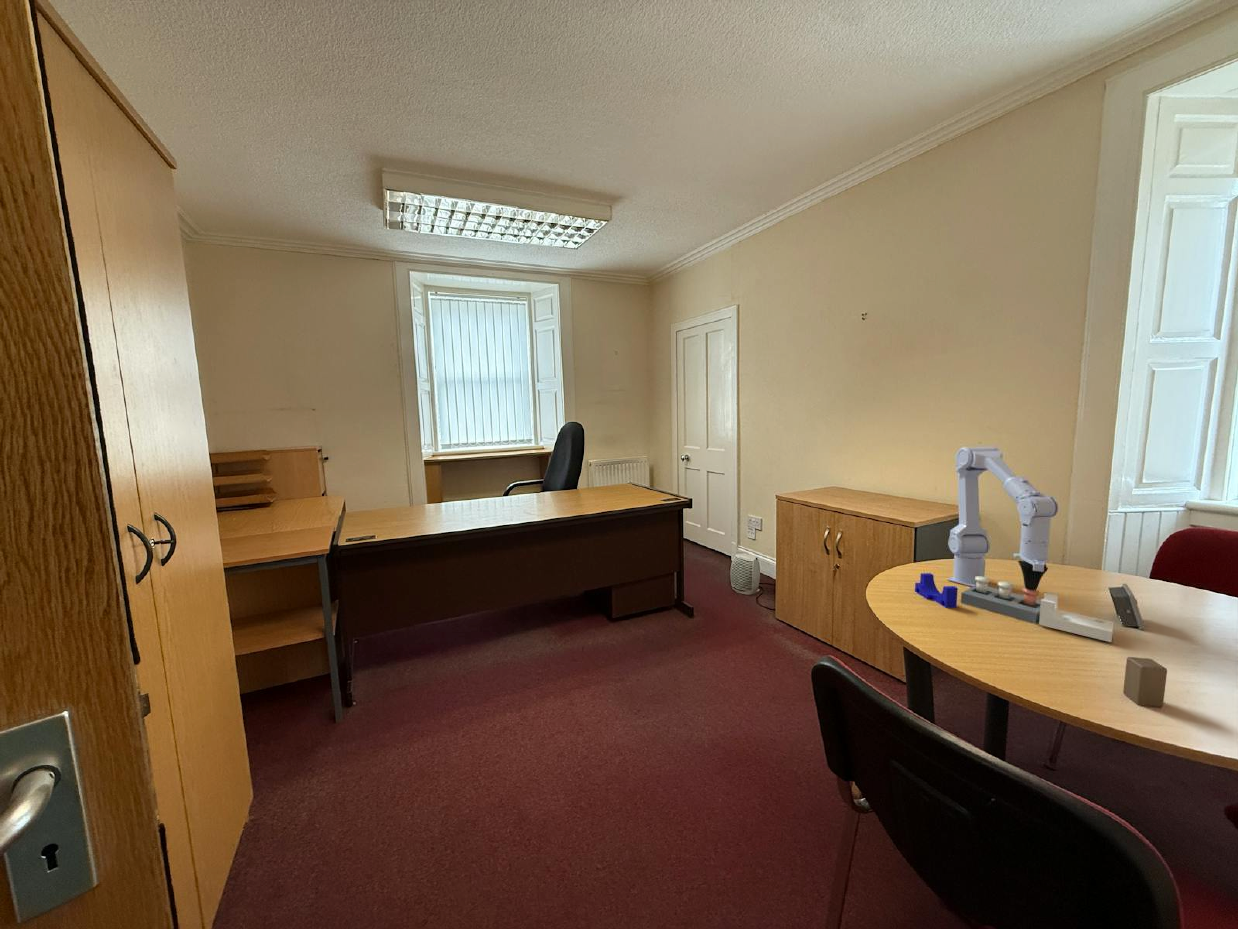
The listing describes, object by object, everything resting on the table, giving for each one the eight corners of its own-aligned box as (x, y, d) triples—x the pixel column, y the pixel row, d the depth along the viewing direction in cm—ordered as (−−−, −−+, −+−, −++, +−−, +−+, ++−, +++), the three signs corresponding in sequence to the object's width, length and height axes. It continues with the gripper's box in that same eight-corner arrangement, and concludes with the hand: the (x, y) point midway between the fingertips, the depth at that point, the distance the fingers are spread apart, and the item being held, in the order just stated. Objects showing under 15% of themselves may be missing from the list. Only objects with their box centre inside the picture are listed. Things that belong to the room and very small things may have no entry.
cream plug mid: (999, 593, 136) (1000, 580, 136) (1014, 597, 133) (1015, 584, 133) (995, 596, 134) (995, 583, 134) (1009, 600, 132) (1010, 587, 131)
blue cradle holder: (914, 592, 147) (915, 573, 147) (929, 591, 147) (930, 573, 146) (940, 608, 135) (941, 588, 135) (956, 608, 135) (957, 588, 135)
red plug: (1023, 599, 132) (1024, 586, 131) (1039, 603, 129) (1040, 590, 128) (1019, 602, 130) (1020, 589, 129) (1035, 607, 127) (1036, 593, 127)
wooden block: (1146, 696, 94) (1151, 658, 93) (1163, 708, 90) (1168, 669, 89) (1121, 693, 95) (1125, 655, 94) (1137, 705, 91) (1142, 666, 90)
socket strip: (977, 593, 144) (977, 584, 144) (1049, 613, 130) (1050, 602, 130) (960, 602, 138) (961, 592, 138) (1035, 624, 124) (1036, 613, 124)
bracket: (1038, 628, 123) (1040, 600, 122) (1042, 619, 127) (1045, 592, 126) (1110, 646, 113) (1113, 615, 112) (1112, 635, 118) (1115, 606, 117)
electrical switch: (1145, 631, 119) (1143, 595, 118) (1115, 628, 122) (1113, 592, 122) (1136, 618, 126) (1135, 583, 126) (1109, 615, 129) (1107, 581, 129)
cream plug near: (977, 587, 141) (978, 575, 140) (991, 591, 138) (991, 578, 138) (972, 590, 139) (973, 577, 139) (986, 594, 136) (987, 581, 136)
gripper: (1010, 532, 135) (1007, 577, 137) (1020, 545, 123) (1016, 595, 125) (1043, 535, 132) (1039, 582, 133) (1056, 549, 119) (1052, 600, 121)
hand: (1030, 589), depth 129 cm, fingers closed
